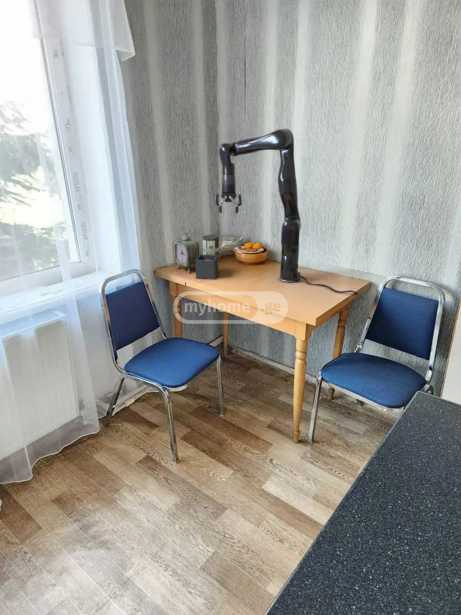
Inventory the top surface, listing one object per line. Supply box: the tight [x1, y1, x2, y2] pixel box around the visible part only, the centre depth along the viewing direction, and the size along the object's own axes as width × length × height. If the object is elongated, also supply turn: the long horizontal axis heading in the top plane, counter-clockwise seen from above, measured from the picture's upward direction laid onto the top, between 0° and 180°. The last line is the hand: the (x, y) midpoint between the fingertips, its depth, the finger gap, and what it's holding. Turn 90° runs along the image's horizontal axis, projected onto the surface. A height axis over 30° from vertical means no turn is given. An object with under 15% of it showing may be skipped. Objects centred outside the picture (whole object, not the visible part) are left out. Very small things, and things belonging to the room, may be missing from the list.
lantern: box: [201, 234, 220, 261], centre depth 246 cm, size 10×10×14 cm
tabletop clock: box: [172, 226, 200, 274], centre depth 225 cm, size 14×9×25 cm, turn 43°
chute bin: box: [195, 254, 219, 280], centre depth 218 cm, size 10×10×11 cm
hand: (228, 213), depth 219 cm, fingers open, 8 cm apart
